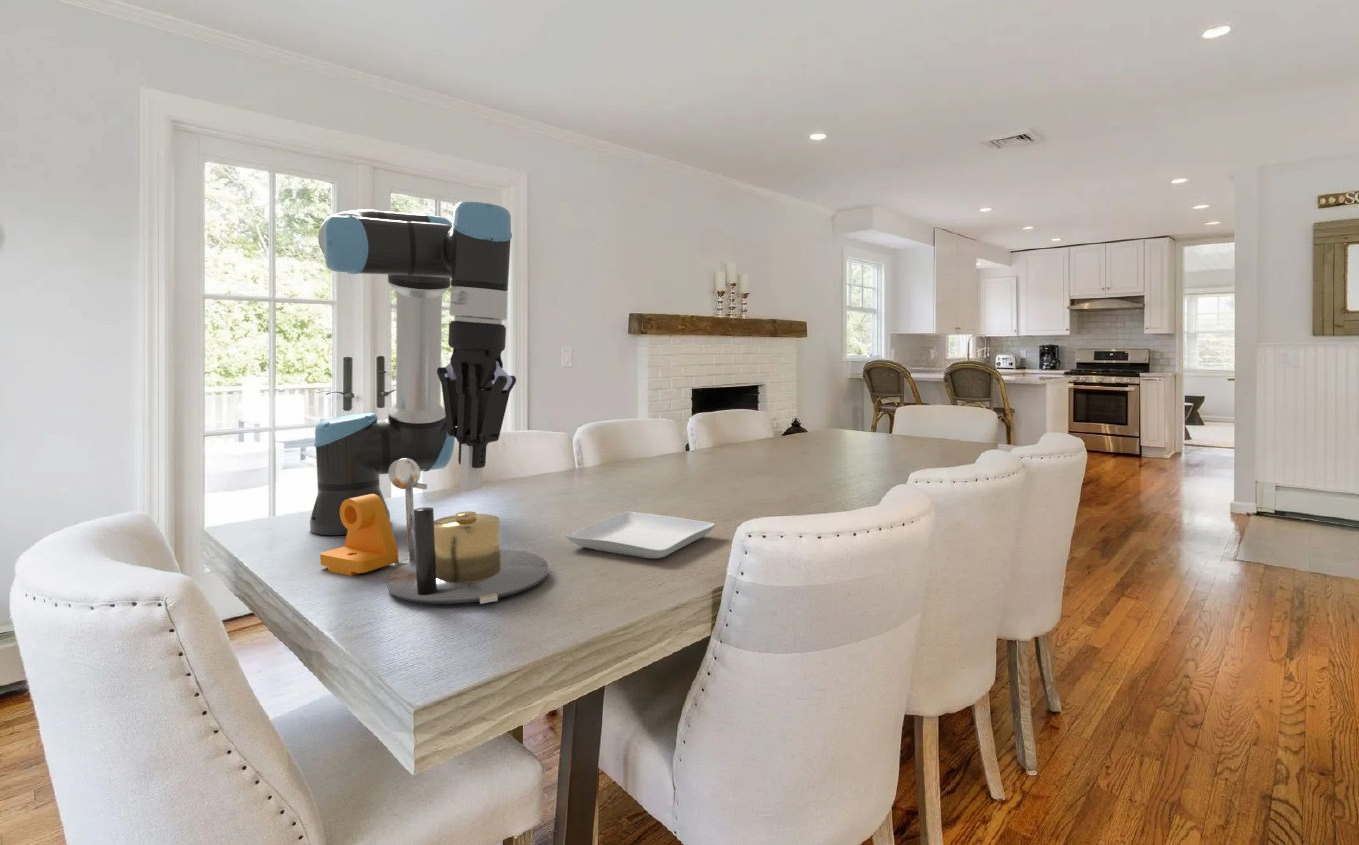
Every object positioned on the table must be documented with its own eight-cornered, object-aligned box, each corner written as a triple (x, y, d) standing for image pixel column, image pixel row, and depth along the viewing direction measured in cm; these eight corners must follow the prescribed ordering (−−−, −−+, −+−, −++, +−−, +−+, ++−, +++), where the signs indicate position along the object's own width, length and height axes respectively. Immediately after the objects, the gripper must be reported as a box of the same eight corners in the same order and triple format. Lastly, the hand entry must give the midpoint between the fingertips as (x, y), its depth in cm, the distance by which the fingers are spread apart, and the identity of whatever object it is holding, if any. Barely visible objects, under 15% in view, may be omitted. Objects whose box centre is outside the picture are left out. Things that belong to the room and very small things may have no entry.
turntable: (354, 600, 99) (349, 510, 97) (434, 552, 122) (431, 480, 121) (516, 606, 95) (513, 514, 94) (566, 556, 119) (564, 482, 118)
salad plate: (663, 568, 116) (662, 548, 116) (563, 551, 127) (562, 533, 126) (718, 539, 135) (718, 521, 134) (626, 526, 145) (626, 510, 145)
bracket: (318, 569, 116) (314, 498, 115) (355, 558, 122) (352, 491, 121) (361, 578, 111) (358, 505, 110) (398, 566, 117) (395, 496, 116)
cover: (422, 580, 104) (419, 520, 103) (451, 561, 114) (448, 506, 113) (486, 582, 103) (484, 521, 102) (509, 562, 113) (508, 507, 112)
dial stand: (390, 569, 116) (385, 459, 114) (404, 561, 120) (399, 455, 118) (428, 570, 115) (424, 459, 113) (441, 562, 119) (436, 456, 117)
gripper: (423, 316, 95) (417, 484, 98) (493, 322, 88) (484, 502, 91) (464, 319, 101) (458, 477, 104) (533, 325, 95) (523, 493, 98)
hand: (470, 488), depth 98 cm, fingers closed
